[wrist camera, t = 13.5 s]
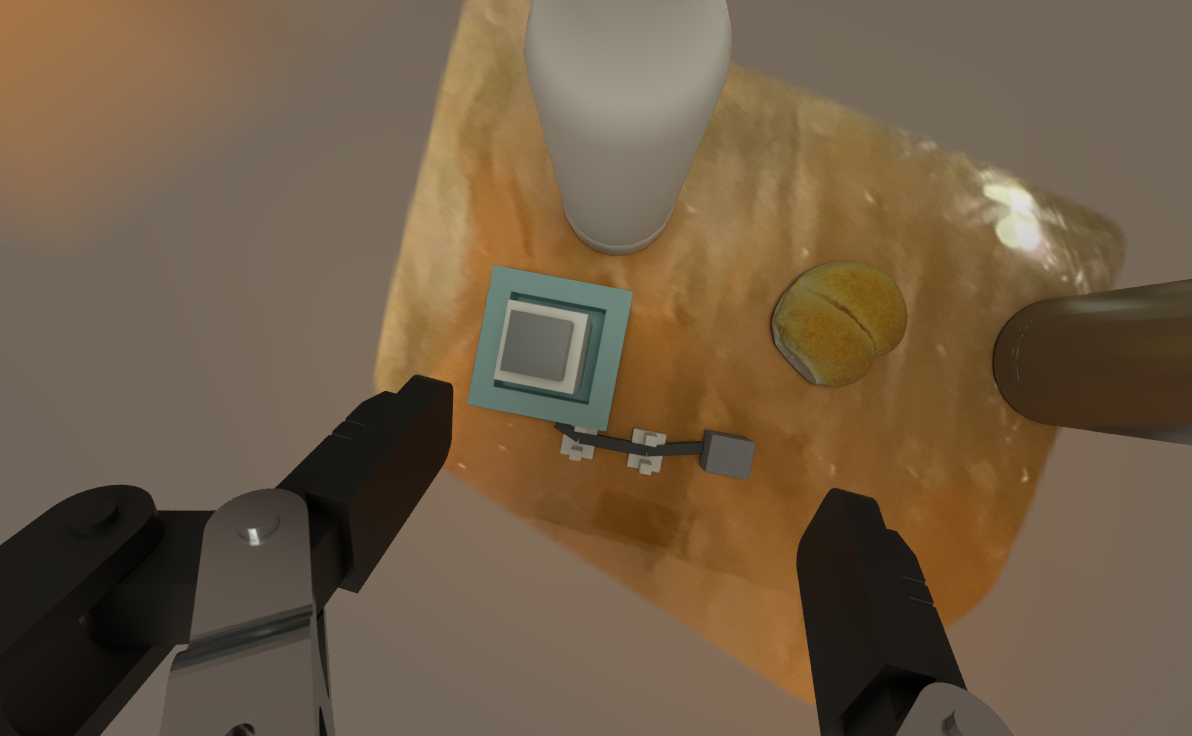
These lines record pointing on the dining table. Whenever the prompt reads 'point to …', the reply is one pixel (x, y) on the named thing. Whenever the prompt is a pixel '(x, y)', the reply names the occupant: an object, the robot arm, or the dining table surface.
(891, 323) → the bread roll
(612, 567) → the dining table surface
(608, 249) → the bottle
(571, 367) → the block
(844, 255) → the dining table surface
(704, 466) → the cable run
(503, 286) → the end socket
